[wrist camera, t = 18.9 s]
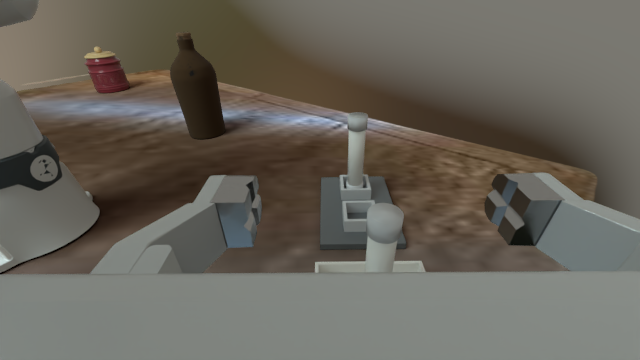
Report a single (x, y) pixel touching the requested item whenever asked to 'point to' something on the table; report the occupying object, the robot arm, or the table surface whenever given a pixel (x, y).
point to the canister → (106, 71)
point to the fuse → (356, 149)
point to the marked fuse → (382, 236)
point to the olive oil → (197, 90)
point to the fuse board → (349, 212)
